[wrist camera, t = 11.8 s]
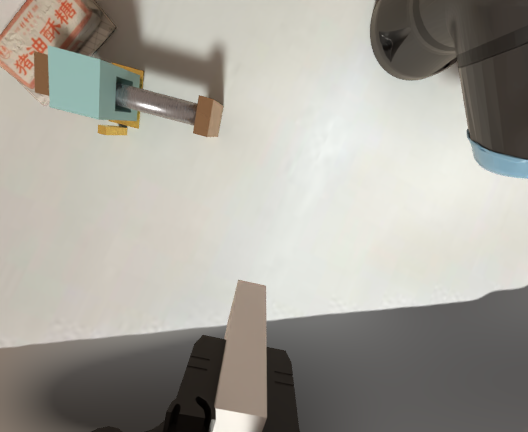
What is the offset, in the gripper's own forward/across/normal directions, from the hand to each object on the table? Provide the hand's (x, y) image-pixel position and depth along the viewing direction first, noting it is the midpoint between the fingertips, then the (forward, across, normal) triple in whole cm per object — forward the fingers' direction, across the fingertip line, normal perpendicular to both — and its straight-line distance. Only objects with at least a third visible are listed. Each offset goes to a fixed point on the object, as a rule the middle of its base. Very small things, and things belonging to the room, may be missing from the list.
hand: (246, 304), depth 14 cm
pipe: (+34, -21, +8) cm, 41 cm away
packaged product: (+35, -36, +14) cm, 53 cm away
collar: (+32, -25, +9) cm, 42 cm away
